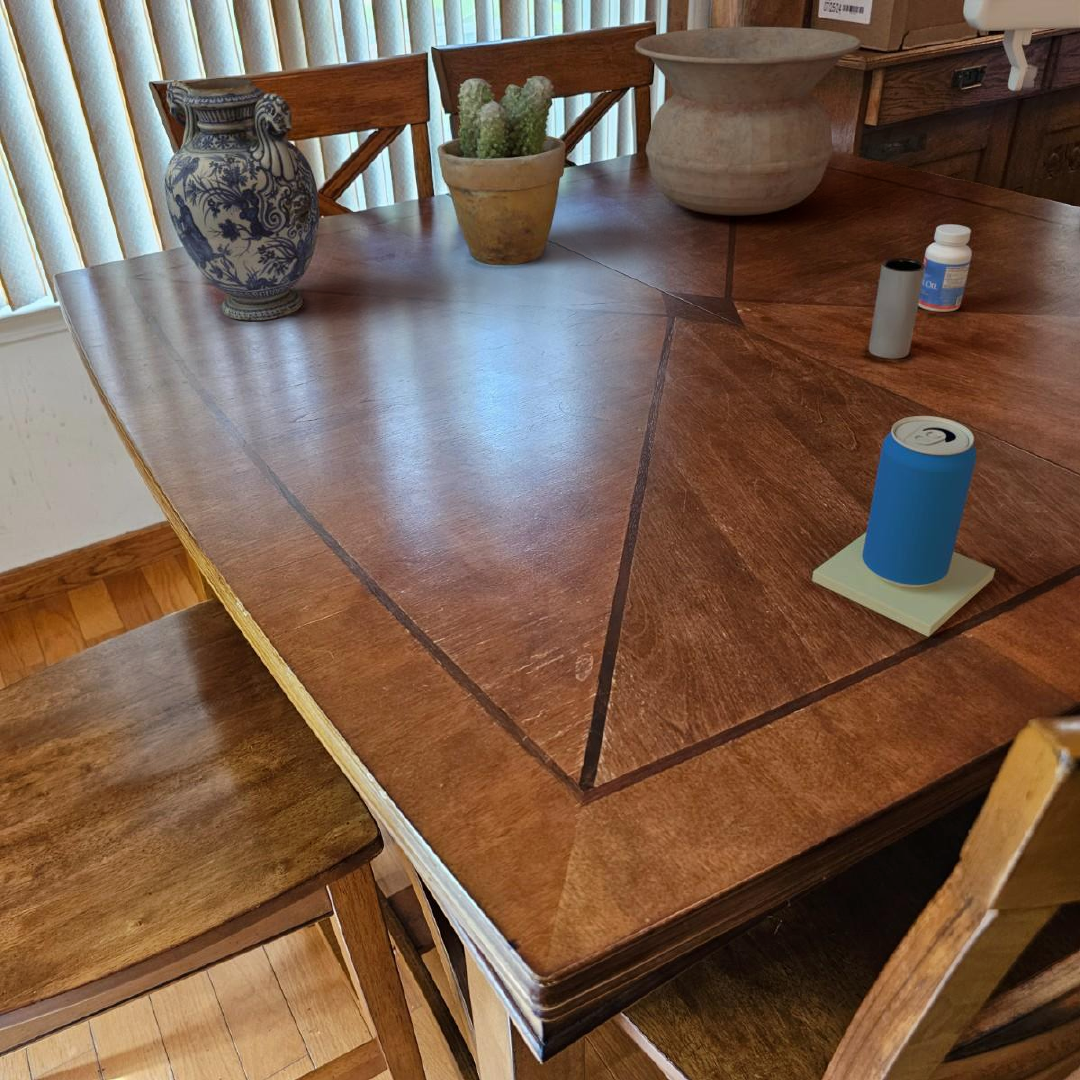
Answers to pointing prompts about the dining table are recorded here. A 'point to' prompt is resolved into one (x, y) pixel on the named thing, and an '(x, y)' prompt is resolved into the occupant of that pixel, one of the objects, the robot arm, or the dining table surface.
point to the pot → (742, 116)
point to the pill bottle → (946, 269)
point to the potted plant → (504, 170)
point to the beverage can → (918, 500)
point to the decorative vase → (242, 195)
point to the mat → (903, 588)
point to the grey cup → (896, 307)
